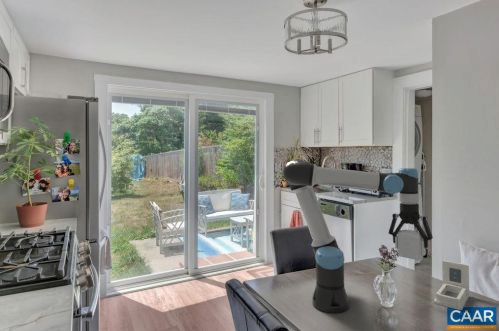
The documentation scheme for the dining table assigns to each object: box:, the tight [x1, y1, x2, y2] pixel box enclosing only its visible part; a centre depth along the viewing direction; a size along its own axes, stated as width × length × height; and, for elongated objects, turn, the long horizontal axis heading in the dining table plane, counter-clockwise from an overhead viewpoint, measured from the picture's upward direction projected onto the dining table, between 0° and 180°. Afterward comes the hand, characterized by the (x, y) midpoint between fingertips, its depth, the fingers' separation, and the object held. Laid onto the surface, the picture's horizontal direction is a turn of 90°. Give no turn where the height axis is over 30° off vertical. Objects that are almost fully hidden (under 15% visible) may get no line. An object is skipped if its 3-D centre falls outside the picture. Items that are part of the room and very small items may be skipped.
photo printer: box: [397, 229, 424, 262], centre depth 137 cm, size 10×4×12 cm, turn 39°
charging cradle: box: [433, 259, 470, 311], centre depth 134 cm, size 10×18×14 cm, turn 136°
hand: (410, 252), depth 137 cm, fingers closed on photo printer, 10 cm apart
